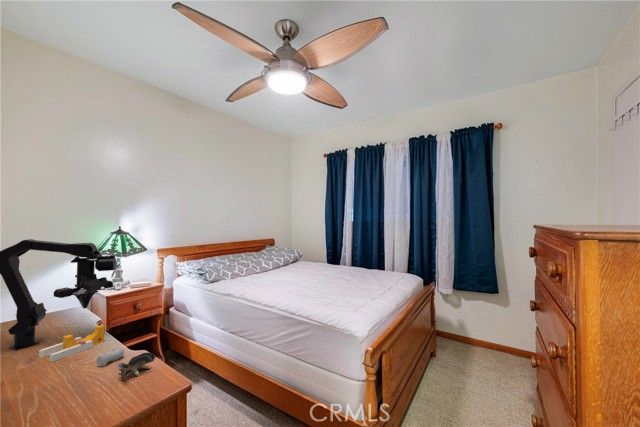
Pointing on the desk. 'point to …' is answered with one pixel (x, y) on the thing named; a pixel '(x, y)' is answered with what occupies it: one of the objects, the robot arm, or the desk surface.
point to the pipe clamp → (95, 337)
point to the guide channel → (58, 352)
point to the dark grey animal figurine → (135, 364)
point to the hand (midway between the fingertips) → (84, 308)
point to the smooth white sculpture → (109, 356)
